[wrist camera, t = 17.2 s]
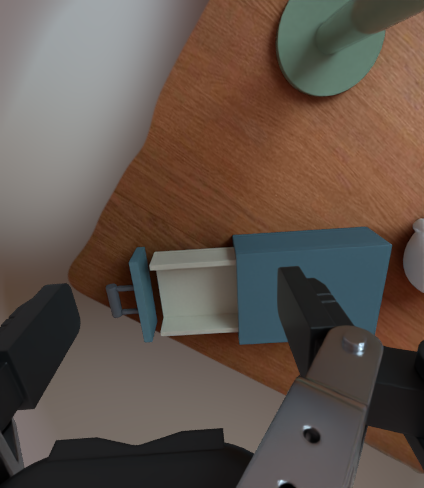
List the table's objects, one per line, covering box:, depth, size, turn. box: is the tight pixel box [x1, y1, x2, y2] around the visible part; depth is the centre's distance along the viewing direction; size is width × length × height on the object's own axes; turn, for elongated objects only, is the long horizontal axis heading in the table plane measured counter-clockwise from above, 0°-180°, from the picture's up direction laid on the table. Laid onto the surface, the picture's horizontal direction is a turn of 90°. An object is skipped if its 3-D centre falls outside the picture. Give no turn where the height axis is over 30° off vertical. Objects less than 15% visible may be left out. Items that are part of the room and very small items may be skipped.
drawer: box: [106, 247, 239, 342], centre depth 44 cm, size 23×14×5 cm, turn 94°
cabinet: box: [232, 227, 392, 345], centre depth 44 cm, size 20×15×7 cm
